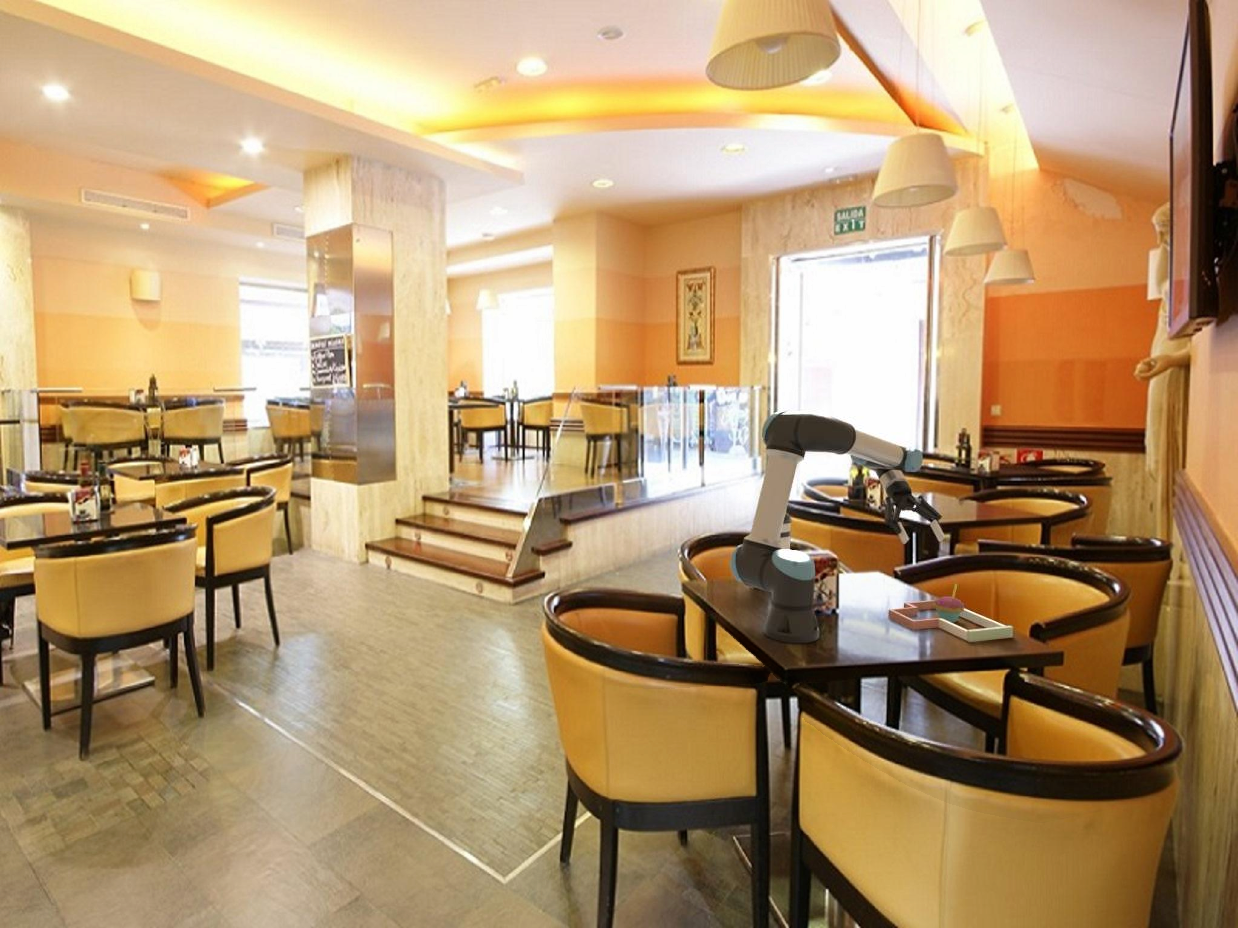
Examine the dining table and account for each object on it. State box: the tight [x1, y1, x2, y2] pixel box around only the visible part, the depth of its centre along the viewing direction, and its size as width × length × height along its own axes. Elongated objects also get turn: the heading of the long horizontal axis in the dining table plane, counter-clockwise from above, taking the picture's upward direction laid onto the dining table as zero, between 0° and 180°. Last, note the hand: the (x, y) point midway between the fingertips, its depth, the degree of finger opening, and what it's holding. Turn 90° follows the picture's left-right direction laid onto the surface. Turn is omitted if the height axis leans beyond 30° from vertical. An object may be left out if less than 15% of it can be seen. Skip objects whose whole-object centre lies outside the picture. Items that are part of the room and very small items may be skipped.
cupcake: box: [933, 581, 965, 623], centre depth 209 cm, size 9×8×12 cm
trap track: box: [887, 599, 1014, 643], centre depth 205 cm, size 23×28×3 cm
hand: (924, 540), depth 218 cm, fingers open, 12 cm apart
